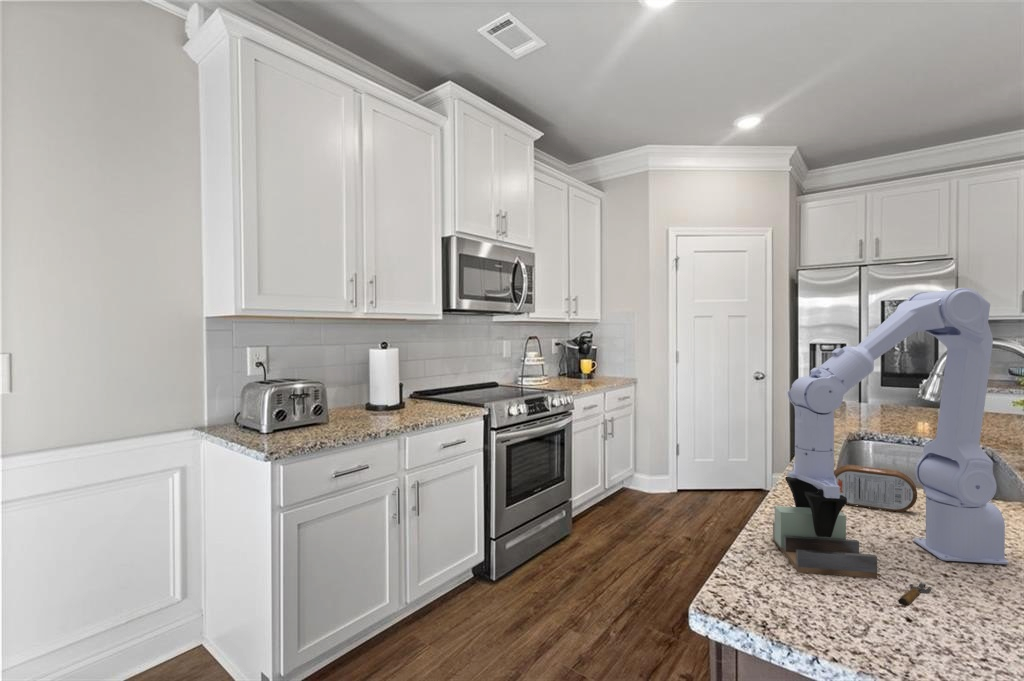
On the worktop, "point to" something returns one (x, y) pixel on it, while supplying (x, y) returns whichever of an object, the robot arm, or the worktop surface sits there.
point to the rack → (828, 556)
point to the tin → (876, 488)
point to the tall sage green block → (802, 524)
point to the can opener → (913, 594)
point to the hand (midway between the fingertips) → (814, 527)
